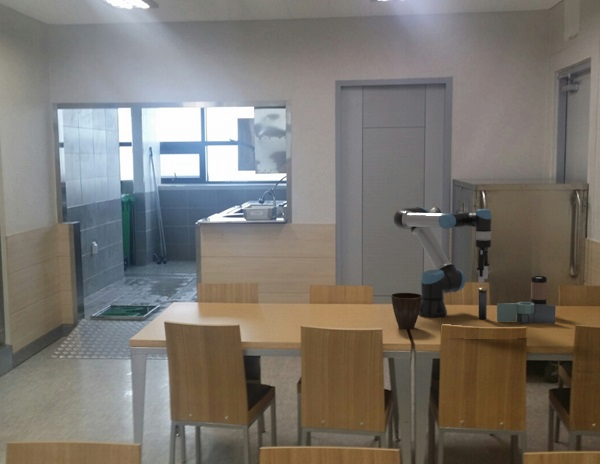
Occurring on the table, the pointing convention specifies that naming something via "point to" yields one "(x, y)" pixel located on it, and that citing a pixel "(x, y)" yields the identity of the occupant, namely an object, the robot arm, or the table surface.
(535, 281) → the travel mug
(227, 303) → the table surface
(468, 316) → the table surface
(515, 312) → the hinge leaf swing
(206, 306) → the table surface
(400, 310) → the plant pot
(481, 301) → the hinge pin
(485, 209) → the robot arm
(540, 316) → the hinge leaf fixed
